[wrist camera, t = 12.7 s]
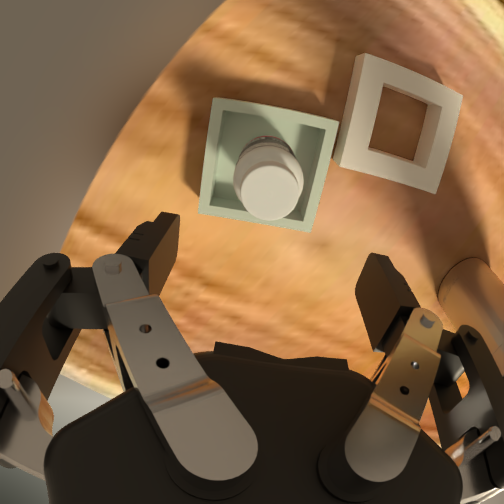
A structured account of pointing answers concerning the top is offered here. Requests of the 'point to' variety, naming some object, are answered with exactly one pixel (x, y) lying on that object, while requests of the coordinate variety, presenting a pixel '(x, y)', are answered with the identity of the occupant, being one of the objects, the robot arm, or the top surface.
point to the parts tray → (251, 126)
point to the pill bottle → (268, 178)
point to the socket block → (364, 114)
